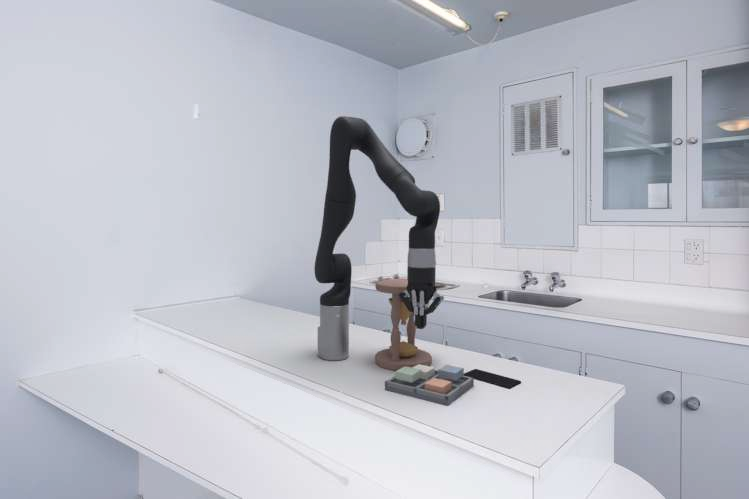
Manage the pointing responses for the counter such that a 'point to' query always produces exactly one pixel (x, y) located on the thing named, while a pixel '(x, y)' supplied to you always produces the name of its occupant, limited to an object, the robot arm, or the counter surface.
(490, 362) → the counter surface
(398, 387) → the keypad
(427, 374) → the cream key
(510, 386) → the smartphone
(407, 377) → the sage key
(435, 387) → the terracotta key
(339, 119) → the robot arm
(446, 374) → the slate key
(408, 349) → the hourglass
